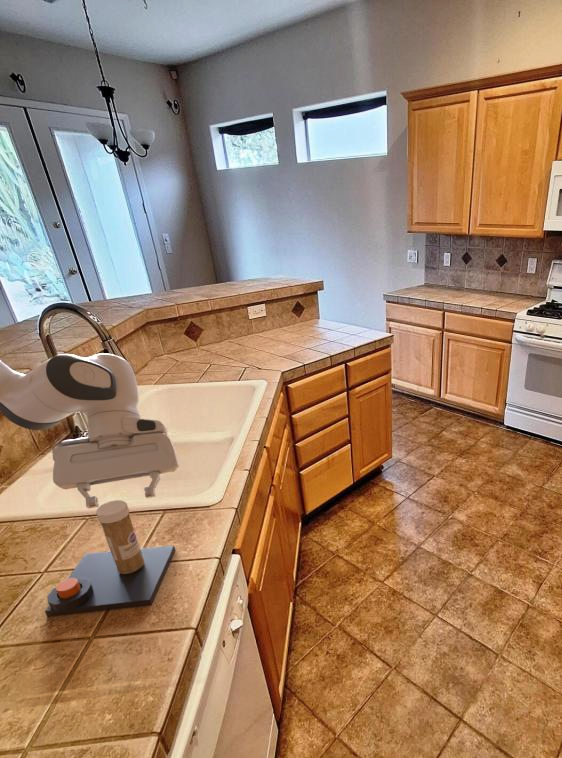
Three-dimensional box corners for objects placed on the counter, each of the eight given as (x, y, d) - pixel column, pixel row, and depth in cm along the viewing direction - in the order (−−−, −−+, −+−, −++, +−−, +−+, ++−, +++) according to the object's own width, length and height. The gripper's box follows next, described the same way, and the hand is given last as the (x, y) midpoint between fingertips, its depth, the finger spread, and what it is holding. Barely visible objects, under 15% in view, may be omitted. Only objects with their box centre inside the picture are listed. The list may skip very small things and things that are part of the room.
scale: (45, 619, 70) (39, 606, 69) (87, 559, 83) (82, 546, 82) (150, 607, 73) (146, 594, 71) (175, 550, 85) (172, 538, 84)
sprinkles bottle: (141, 573, 78) (121, 512, 72) (113, 576, 77) (90, 516, 71) (148, 556, 82) (130, 497, 76) (121, 559, 81) (101, 500, 75)
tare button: (55, 600, 71) (51, 592, 70) (64, 586, 73) (61, 578, 72) (75, 598, 71) (72, 590, 70) (84, 584, 74) (81, 576, 73)
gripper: (44, 436, 77) (47, 510, 74) (170, 420, 85) (178, 487, 81) (59, 447, 83) (62, 517, 79) (176, 431, 90) (184, 494, 86)
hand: (122, 501), depth 80 cm, fingers open, 8 cm apart
